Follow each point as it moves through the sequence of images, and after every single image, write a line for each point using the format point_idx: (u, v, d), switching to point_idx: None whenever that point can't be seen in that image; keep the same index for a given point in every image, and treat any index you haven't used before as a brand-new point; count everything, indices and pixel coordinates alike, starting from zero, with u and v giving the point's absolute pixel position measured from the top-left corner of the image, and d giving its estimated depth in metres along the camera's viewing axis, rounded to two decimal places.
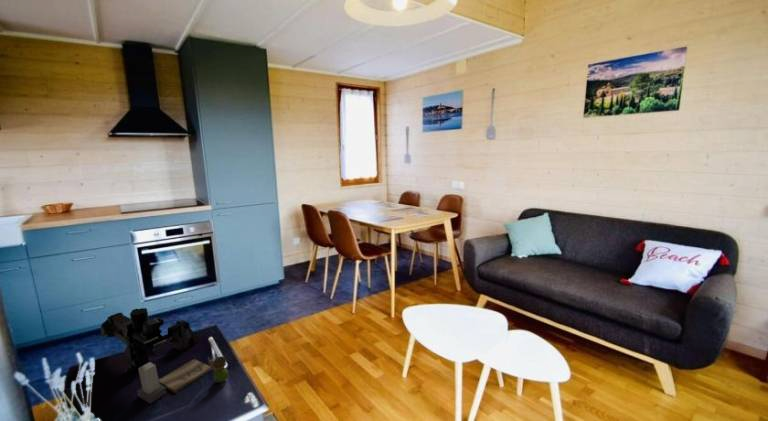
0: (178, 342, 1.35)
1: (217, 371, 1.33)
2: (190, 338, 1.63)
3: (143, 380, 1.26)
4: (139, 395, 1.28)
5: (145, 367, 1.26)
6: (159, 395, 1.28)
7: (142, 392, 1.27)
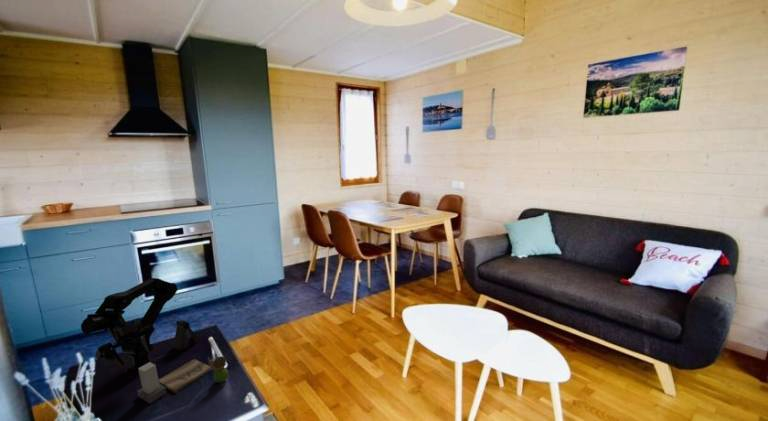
0: (148, 351, 1.35)
1: (217, 371, 1.33)
2: (190, 338, 1.63)
3: (143, 380, 1.26)
4: (139, 395, 1.28)
5: (145, 367, 1.26)
6: (159, 395, 1.28)
7: (142, 392, 1.27)
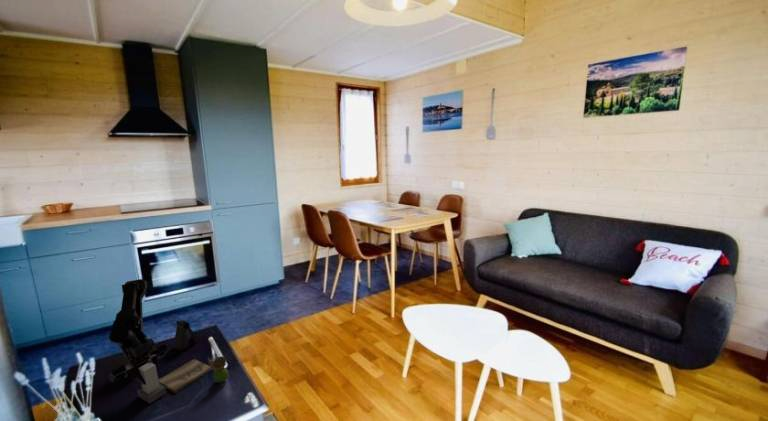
0: None
1: (217, 371, 1.33)
2: (190, 338, 1.63)
3: None
4: (139, 395, 1.28)
5: (145, 367, 1.26)
6: (159, 395, 1.28)
7: (142, 391, 1.27)
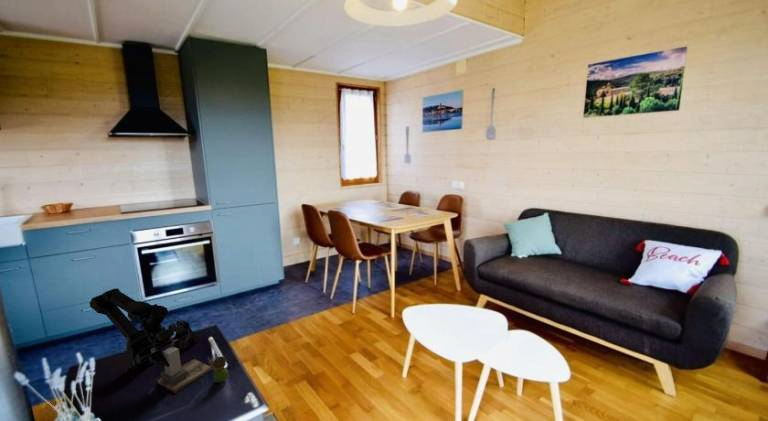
0: None
1: (217, 371, 1.33)
2: (190, 338, 1.63)
3: None
4: (162, 377, 1.35)
5: (169, 350, 1.34)
6: (181, 378, 1.35)
7: (164, 374, 1.34)
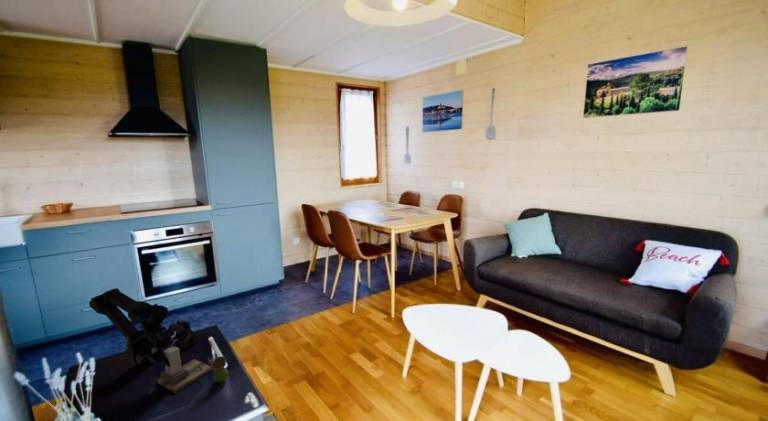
0: None
1: (217, 371, 1.33)
2: (190, 338, 1.63)
3: None
4: (162, 377, 1.35)
5: (169, 350, 1.34)
6: (181, 377, 1.35)
7: (165, 374, 1.35)
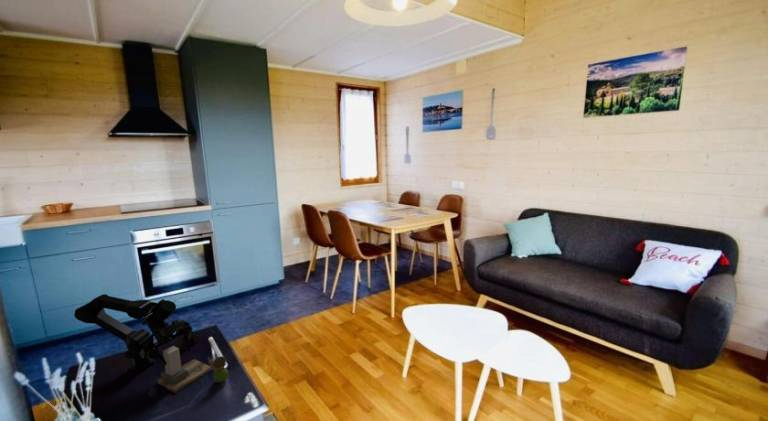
0: (187, 351, 1.42)
1: (217, 371, 1.33)
2: (190, 338, 1.63)
3: (167, 362, 1.33)
4: (162, 377, 1.35)
5: (169, 350, 1.34)
6: (181, 377, 1.35)
7: (165, 374, 1.35)
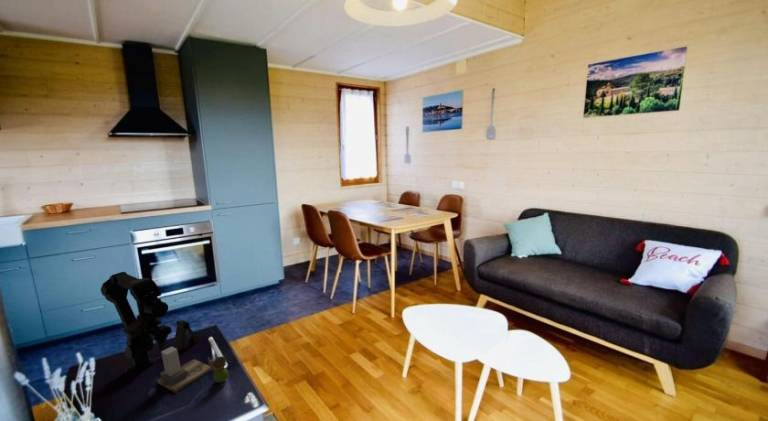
0: None
1: (217, 371, 1.33)
2: (190, 338, 1.63)
3: (166, 363, 1.33)
4: (162, 377, 1.35)
5: (167, 351, 1.34)
6: (180, 378, 1.35)
7: (164, 374, 1.35)
